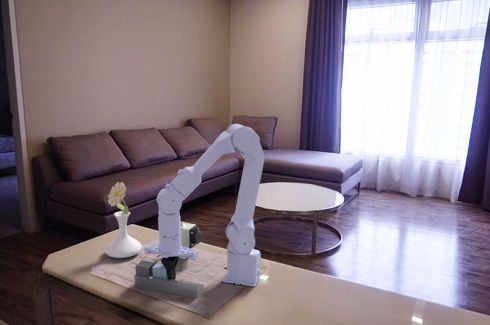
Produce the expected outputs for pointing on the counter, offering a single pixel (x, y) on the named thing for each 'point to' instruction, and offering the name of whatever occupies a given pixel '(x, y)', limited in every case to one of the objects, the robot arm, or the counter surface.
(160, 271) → the block
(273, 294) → the counter surface
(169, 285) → the rail
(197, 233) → the pneumatic valve
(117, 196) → the flower in vase
